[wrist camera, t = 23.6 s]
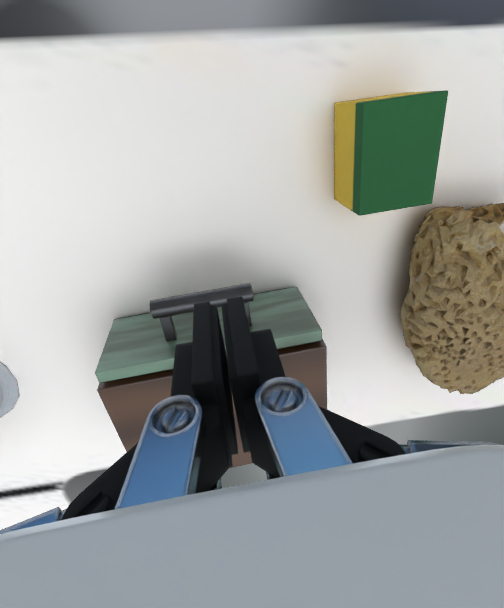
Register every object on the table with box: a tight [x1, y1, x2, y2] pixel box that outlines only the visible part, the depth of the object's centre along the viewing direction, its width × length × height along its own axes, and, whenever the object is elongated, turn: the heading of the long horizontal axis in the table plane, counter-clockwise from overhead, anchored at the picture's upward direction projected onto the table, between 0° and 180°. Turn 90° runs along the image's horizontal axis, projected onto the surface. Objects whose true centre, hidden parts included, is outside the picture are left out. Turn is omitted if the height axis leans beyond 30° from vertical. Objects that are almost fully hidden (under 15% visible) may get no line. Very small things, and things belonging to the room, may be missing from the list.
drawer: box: [95, 283, 322, 383], centre depth 31 cm, size 16×17×7 cm
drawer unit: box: [97, 339, 327, 468], centre depth 32 cm, size 12×17×8 cm
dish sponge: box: [334, 91, 448, 215], centre depth 25 cm, size 6×7×5 cm
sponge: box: [401, 203, 504, 394], centre depth 33 cm, size 13×8×20 cm
